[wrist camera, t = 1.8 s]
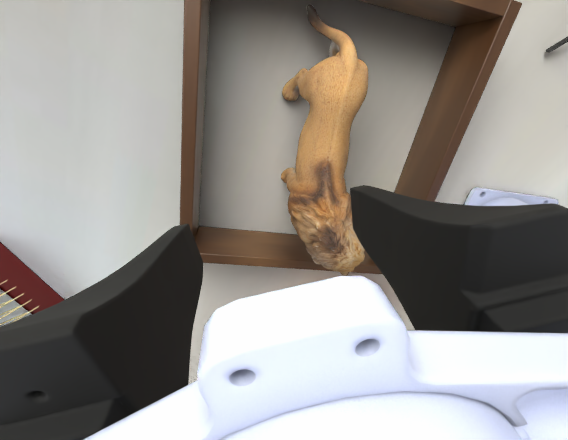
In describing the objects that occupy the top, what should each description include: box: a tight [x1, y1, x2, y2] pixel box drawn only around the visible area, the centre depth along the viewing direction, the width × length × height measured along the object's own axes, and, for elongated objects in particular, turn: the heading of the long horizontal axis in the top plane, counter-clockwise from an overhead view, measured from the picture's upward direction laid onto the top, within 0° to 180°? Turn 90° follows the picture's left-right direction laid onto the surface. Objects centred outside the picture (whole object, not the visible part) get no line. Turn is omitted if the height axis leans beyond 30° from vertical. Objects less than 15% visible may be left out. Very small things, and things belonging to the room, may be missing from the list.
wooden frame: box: [180, 0, 522, 274], centre depth 19 cm, size 18×19×4 cm
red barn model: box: [0, 242, 64, 325], centre depth 24 cm, size 22×13×5 cm, turn 22°
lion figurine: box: [281, 5, 368, 276], centre depth 17 cm, size 15×5×9 cm, turn 5°
